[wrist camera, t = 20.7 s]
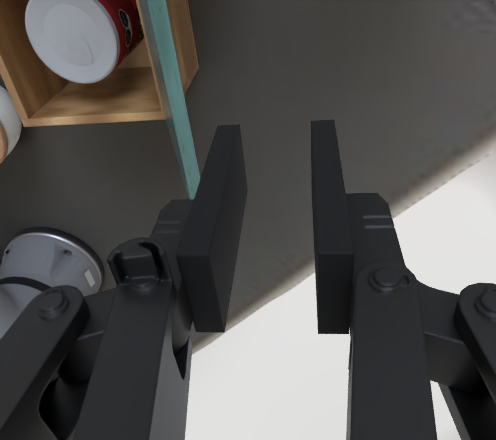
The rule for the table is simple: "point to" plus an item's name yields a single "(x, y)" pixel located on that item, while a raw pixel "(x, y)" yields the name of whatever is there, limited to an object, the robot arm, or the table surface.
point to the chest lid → (171, 89)
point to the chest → (92, 94)
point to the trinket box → (8, 124)
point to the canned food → (83, 35)
